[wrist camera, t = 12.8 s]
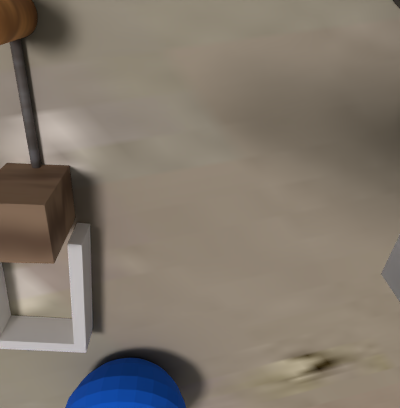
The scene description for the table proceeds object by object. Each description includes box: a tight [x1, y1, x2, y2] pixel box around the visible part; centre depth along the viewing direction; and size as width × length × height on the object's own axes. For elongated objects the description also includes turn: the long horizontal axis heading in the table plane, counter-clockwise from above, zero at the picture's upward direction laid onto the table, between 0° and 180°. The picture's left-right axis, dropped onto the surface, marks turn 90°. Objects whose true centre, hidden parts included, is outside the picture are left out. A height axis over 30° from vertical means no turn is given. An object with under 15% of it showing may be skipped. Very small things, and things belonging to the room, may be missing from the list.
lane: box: [0, 223, 93, 353], centre depth 49 cm, size 19×13×4 cm
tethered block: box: [0, 0, 76, 263], centre depth 36 cm, size 25×7×10 cm, turn 176°
